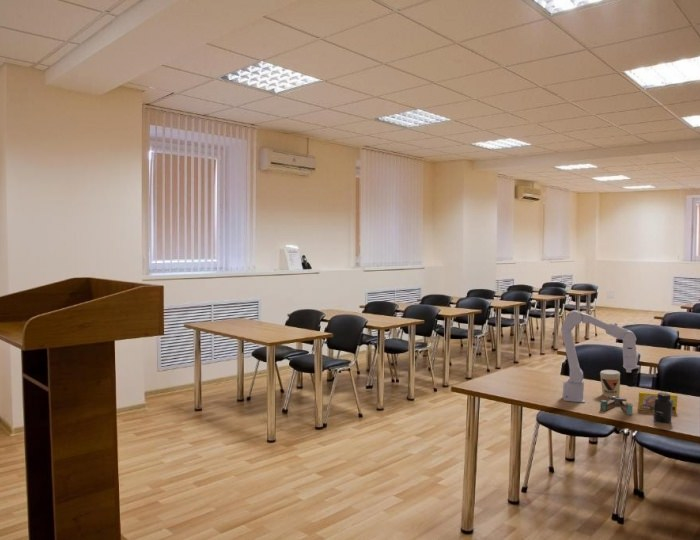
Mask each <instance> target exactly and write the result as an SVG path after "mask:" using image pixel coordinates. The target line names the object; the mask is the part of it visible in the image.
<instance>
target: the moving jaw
mask: <svg viewBox="0 0 700 540" xmlns="http://www.w3.org/2000/svg"><path fill="white" fill-rule="evenodd" d="M615 407H616V405H615V401H614V400H610V399H608V400H605V399H602V400H600V410H599V411H601V412H606V411H609V410H611V409H613V408H615Z"/></svg>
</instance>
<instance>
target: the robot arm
mask: <svg viewBox="0 0 700 540" xmlns="http://www.w3.org/2000/svg"><path fill="white" fill-rule="evenodd" d="M581 323H582V324H591V325H593V326H596V327H598V328H600V329H602V330H604V331H605V333H606V334H607V335H609V336H612V337H613V338H615V339H618V340H622V359H623V360H622V361H623V364H622V367H623V369H625V370H622V374H623V376H624V378H625V381H626V385H627V387H630V388H631V387H634V384H635V383H636V377H637V373H638V370H639V368H640V367H641V366H640V365H638V362H637V361H638V357H637V346H636V345H637V343H636V342H637V337H636V335H635V333H634V332H633V331H631V330H630V329H628V328H626V327H622V326H620V325H618V323H617V322H614V323H613V322H611V323H607V322H605V321H603V320H601V319H599V318H597V317H595V316H592V315H590V314H588V313H586V312H582V311H579V310H577V309H573V310H570V311H569V312H568V314H567V315H566V316H565V318H564V320H563V322H562V324H561V327H560V331H561V335H562V340H563V344H564V350H565V353H566V358H567V362H568V367H569V368H568V369H569V379H568V380H567V381H565V380H564V381H563V382H562V383H563V385H562V399H563V401H565V402H573V403H585V402H586V401H585V399H584V389H585V388H584V387H585V382H584V381H583V380H584V371H583V370H582V368H581V367H580V363H579V359H578V355H577V354H578V353H577V351H576V346H575V341H574V337H573V332H572V331H573V330H574V328H575V327H576V326H578V325H580V324H581Z"/></svg>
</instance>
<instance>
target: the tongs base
mask: <svg viewBox="0 0 700 540" xmlns="http://www.w3.org/2000/svg"><path fill="white" fill-rule="evenodd" d="M609 400H614V401H615V406H620V407H621V408H622V409H623V411H624V412H625V414H626V413H627V414H628V415H629V416H632V415H633V404H632V403H628V401H627V398H624V397H616V396H611V397H609ZM627 414H626V415H627Z"/></svg>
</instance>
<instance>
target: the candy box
mask: <svg viewBox="0 0 700 540" xmlns="http://www.w3.org/2000/svg"><path fill="white" fill-rule="evenodd" d="M658 393H659V392H658ZM658 393H657V392H645V391H642V392H641V391H639V392H638V404H637V410H638V411H648V410H649V411H650V412H654V403H655V400H656V399H658V397H657V396H658ZM668 394H669V395H670V401H671V402H672V413H677V409H678V408H677V407H678V394H674V393H673V394H672V393H671V394H670V393H668ZM649 411H648V412H649Z"/></svg>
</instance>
